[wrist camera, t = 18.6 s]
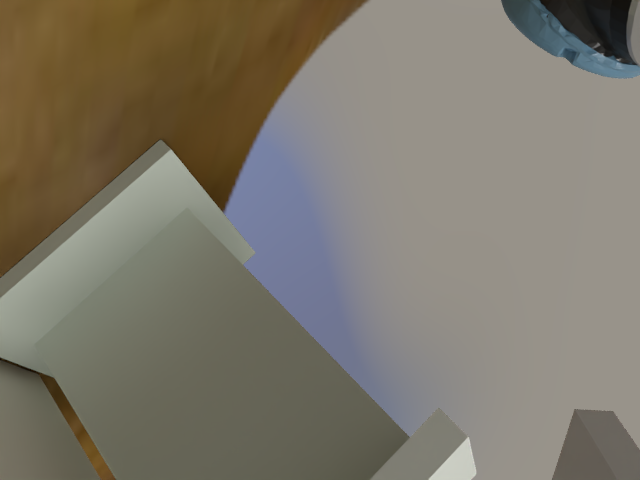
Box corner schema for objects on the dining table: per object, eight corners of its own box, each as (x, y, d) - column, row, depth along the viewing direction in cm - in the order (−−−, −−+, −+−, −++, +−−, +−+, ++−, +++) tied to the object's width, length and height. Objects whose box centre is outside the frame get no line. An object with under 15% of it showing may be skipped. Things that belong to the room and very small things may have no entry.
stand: (-55, 325, 41) (165, 759, 26) (160, 139, 44) (468, 436, 29) (95, 384, 57) (286, 679, 42) (246, 244, 59) (476, 473, 45)
